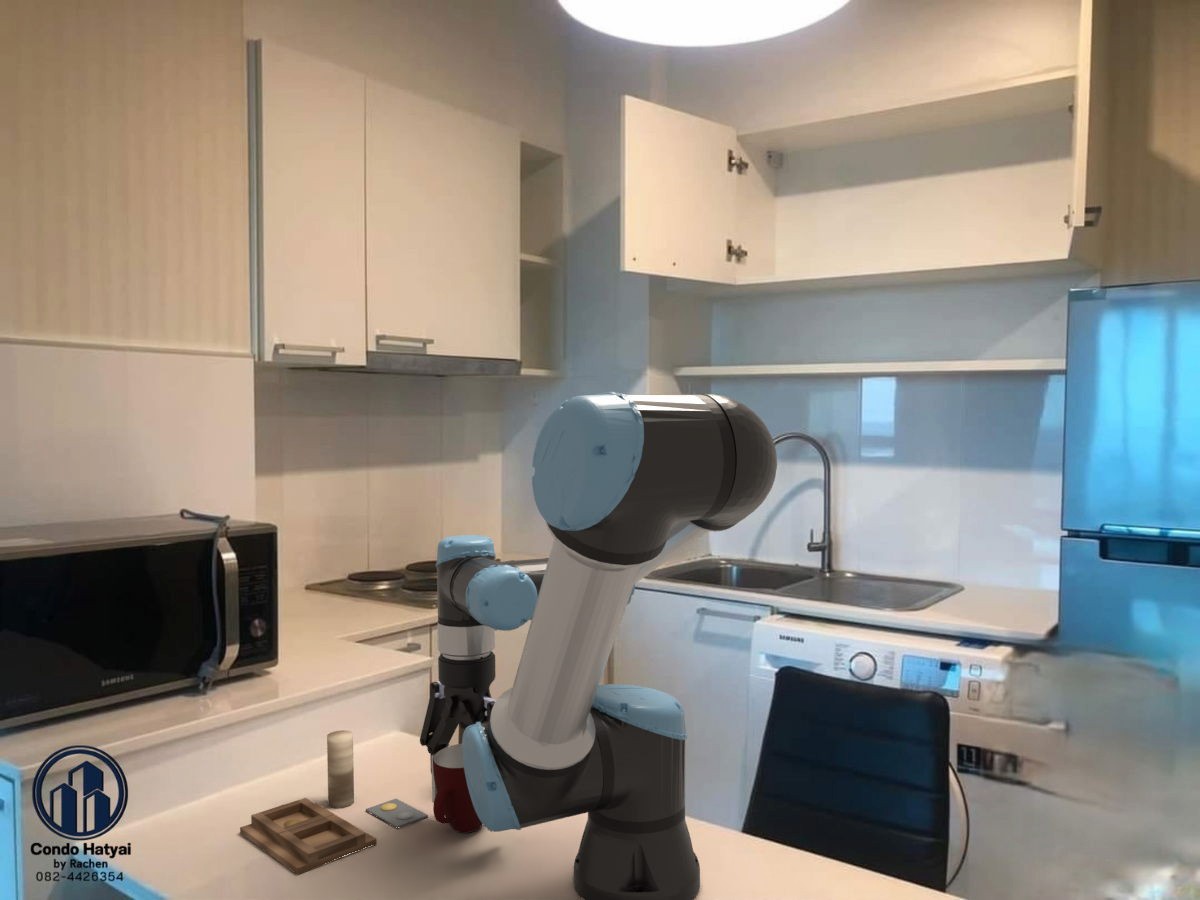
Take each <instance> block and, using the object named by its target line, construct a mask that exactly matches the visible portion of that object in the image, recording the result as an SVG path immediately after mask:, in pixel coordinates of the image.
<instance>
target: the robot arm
mask: <svg viewBox="0 0 1200 900" xmlns="http://www.w3.org/2000/svg"><path fill="white" fill-rule="evenodd" d="M535 443H536V444H535V447H534V451H533V458H532V465H531V466H532V467H533V468H534V474H533V476H531V480H532V481H531V485H532V492H533V498H534V501H535V505H536V508H537V510H538V513H539V514H540V516H541V517H542V518H543V520H544V522H545V525H546V527H547V530H548V531H549V533H550V535H551V536H552V538H553V542H552V546H551V549H550V553H549V556H548V557H544V558H532V559H530V558H529V559H518V560H507V561H505V560H504V561H498V560H497V561H496V557H497V556H496V552H495V545H494V544H495V543H494V541H493V540H492V538H491V537H489V536H486V535H477V534H461V535H450V536H446V537H444V538H442V539H440V540H439V542H438V544H437V550H436V551H437V552H436V553H437V555H436V563H435V569H436V585H437V586H436V588H437V650H438V652H439V653H440V654H439V656H438V659H437V663H438V667H437V668H438V669H437V671H438V680H436V681H432V682H430V684H429V700H428V704H427V707H426V713H425V717H424V721H423V724H422V728H421V733H420V737H419V744H420V745H421V746H422V747H426V749H427V753H428V754H429V755H430V759H429V760H430V763H429V764H430V774H431V802H432V804H434V800H435V796H436V794H437V789H436V785H435V781H434V775H433V756H434V755H435V754H436V753H437V752H438V751H440V750H441V749H443V748H446V747H448V746H451V745H450V742H451V740H452V738H453V736H454V733H455V732H456V729H457V728H458V727H459V722H463V723H464V724H465V725H468V727H467V728H466V729H465V731H464V733H463V739H462V755H463V764H464V771H465V777H466V781H467V786H468V790H469V793H470V797H471V800H472V803H473V806H474V809H475V811H476V813H477V816H478V818H479V819H480V821H481V822H482V826H484V827H485V828H486V829H487V831H489V832H495V833H497V832H504V831H509V830H510V831H511V830H516V831H519V830H522V829H523V828H528V827H533V826H536V825H542V824H546V823H549V822H553V821H554V822H555V821H557V820H562V819H566V818H570V817H575V816H578V815H583V814H587V820H586V824H585V825H584V831H583V833H582V836H581V840H580V844H579V848H578V852H577V853H576V856H575V858H574V861H573V888H574V891H576V893H577V894H578V895H577V896H579V897H580V898H581V900H693V899H694V898H696V896H697V895H698V893H699V891H700V887H701V868H700V866H701V865H700V861H699V859H698V858H699V857H698V856H697V855H696V853H695V851H694V848H693V843H692V838H691V834H690V831H689V827H688V823H687V822H686V740H687V739H688V734H687V732H686V731H687V730H686V728H687V727H686V721H685V711H684V710H685V709H684V706H683V705H682V703H681V702H680V701H679V700H678V699H677V698H676V697H674V696H673V695H671V694H670V693H669V694H668V693H666V692H664V691H662V690H658V689H655V688H650V687H645V686H641V685H636V684H635V685H633V684H626V683H625V684H622V683H606V684H605V683H604V684H600V683H601V681H602V677H603V674H604V672H605V670H606V666H607V663H608V660H609V658H610V654H611V653H612V652H611V651H612V649H613V645H614V644H615V640H616V637H617V635H618V633H619V632H618V631H619V628H620V625H621V623H622V620H623V617H624V615H625V612H626V609H627V606H628V605H629V604H631V600H632V597H633V596H634V594H635V589H636V584H637V583H638V582H640V581H641V580H643V578H646V577H647V576H649V574H651V573H652V572H654V571H655V570H656V569H658V568H659V567H660V566H662V565H663V564H665V563H666V562H668V561H669V560H671V559H672V558H673V557H674V556H676V555H678V554H679V553H680V552H681V551H683V550H685V549H686V548H687V547H689V546H690V545H691V544H692V543H694V542H695V541H697V540H699V539H700V538H702V536H704V535H706V534H707V533H708V532H713V533H715V532H723V531H727V530H729V529H731V528H733V527H734V526H736V525H737V524H738V523H739V522H740V523H741V521H743V520H745V519H746V518H747V517H748V516H750V515H752V514H753V513H754V512H755V511H756V509H758V508H759V507H760V506H761V505H762V504H763V503H764V501H765V500H766V499H767V497H768V496H769V494H770V492H771V490H772V488H773V486H774V482H775V481H776V474H777V469H778V468H777V467H778V460H777V459H778V457H777V456H778V455H777V454H778V453H777V450H776V446H775V442H774V438H773V437H772V434H771V433H770V431H769V429H768V427H767V425H766V423H764V421H763V419H761V417H760V416H759V415H758V414H757V413H755V411H753V409H751V408H750V407H748V406H747V405H745V404H744V403H741V402H740V401H738V400H736V399H734V398H731V397H728V396H725V395H720V394H714V393H697V394H689V393H688V394H625V393H621V392H615V391H605V392H601V393H598V394H590V395H576V396H573V397H570V399H566V400H564V401H563V402H561V403H559V404H558V405H557V406H556V407H555V408H554V409H553V410H552V411H551V412H550V413H549V415H548V416H547V418H546V419H545V421H544V423H543V425H542V427H541V429H540V431H539V434H538V436H537V440H536V442H535ZM529 621H530V624H529V628H528V631H527V635H526V638H525V642H524V645H523V649H522V652H521V655H520V656H521V657H520V661H519V664H518V665H517V666H518V667H517V670H516V674H515V678H514V681H513V686H512V687H510V688H508V689H507V690H505V691H504V692H502V693H501V694H500V696H499V697H497V699H495V698H492V695H491V691H490V688H491V687H490V686H491V685H492V683H494V681H495V680H496V677H497V676H496V654H495V653H494V652H493V650H494V649H495V647H496V641H495V639H496V632H495V631H496V630H498V631H506V632H507V631H509V632H510V631H513V630H517V629H519V628H520V627H523V625H525V624H526V623H528V622H529ZM484 718H485V720H486V721H485V722H482V723H481V721H482V720H483V719H484Z"/></svg>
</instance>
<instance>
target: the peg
mask: <svg viewBox="0 0 1200 900" xmlns="http://www.w3.org/2000/svg"><path fill="white" fill-rule="evenodd" d="M326 746H327V747H326V750H327V751H326V753H327V758H326V759H327V801H328V802H327V805H328V807H330V808H332V807H333V808H332V809H342V807H344V808H347V806H348V807H351V806H352V805H353V804H354V803H355V776H354V774H355V773H354V772H355V771H354V770H355V769H354V768H355V767H354V732H353V731H351V730H345V729H344V730H336V731H332V732H330V733H327V735H326Z"/></svg>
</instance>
